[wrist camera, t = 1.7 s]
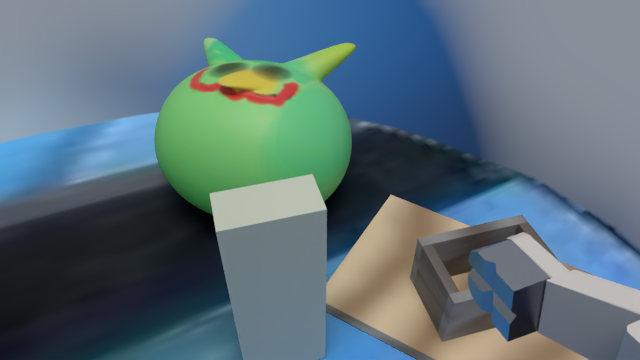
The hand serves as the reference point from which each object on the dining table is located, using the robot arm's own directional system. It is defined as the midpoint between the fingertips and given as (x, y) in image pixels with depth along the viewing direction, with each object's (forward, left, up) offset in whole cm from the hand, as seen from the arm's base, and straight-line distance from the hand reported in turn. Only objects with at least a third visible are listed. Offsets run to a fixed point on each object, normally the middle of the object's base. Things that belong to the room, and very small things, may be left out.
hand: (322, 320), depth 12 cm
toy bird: (-21, +23, -25) cm, 40 cm away
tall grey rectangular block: (-9, +10, -25) cm, 28 cm away
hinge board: (+1, +21, -25) cm, 33 cm away
